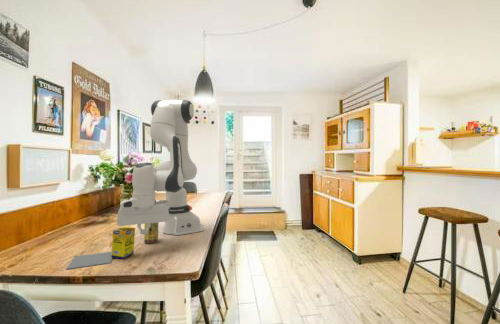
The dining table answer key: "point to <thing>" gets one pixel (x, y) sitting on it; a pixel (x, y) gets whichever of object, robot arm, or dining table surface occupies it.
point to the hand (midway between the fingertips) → (144, 233)
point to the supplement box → (123, 242)
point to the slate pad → (90, 260)
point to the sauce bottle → (151, 233)
